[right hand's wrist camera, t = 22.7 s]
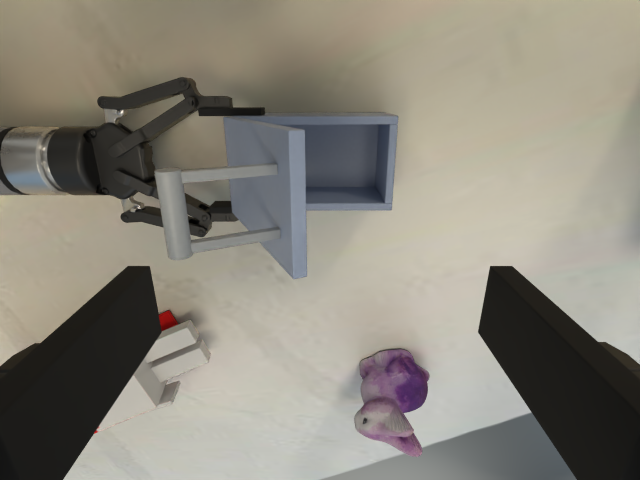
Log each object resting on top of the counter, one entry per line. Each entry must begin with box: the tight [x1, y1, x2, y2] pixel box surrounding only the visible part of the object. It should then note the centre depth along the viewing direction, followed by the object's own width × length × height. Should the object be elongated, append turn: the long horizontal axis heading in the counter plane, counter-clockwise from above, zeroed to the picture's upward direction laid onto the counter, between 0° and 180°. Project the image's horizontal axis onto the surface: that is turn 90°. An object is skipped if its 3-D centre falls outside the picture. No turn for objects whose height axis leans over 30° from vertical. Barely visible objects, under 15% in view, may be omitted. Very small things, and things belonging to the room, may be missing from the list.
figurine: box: [354, 349, 430, 457], centre depth 53 cm, size 9×10×15 cm
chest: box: [230, 112, 398, 210], centre depth 43 cm, size 17×10×9 cm, turn 90°
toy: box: [94, 310, 211, 434], centre depth 54 cm, size 12×13×30 cm
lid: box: [154, 117, 307, 279], centre depth 30 cm, size 18×10×9 cm
